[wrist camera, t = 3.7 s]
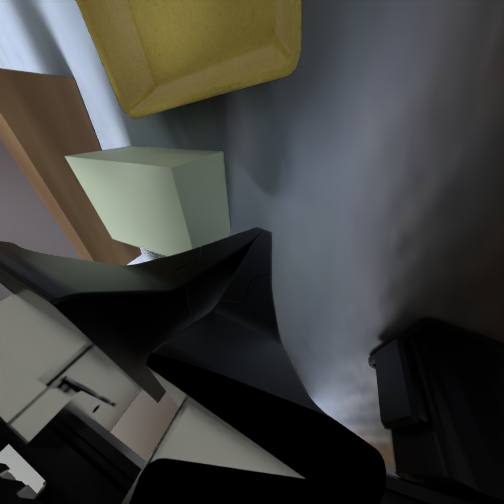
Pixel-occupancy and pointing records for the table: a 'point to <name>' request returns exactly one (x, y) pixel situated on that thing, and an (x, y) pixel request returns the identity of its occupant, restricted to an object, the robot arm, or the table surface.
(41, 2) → the table surface
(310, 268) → the table surface
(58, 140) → the board
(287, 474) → the robot arm
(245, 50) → the yellow tray
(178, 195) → the block
